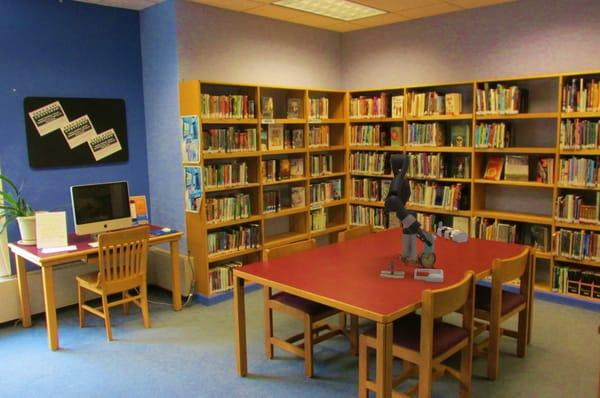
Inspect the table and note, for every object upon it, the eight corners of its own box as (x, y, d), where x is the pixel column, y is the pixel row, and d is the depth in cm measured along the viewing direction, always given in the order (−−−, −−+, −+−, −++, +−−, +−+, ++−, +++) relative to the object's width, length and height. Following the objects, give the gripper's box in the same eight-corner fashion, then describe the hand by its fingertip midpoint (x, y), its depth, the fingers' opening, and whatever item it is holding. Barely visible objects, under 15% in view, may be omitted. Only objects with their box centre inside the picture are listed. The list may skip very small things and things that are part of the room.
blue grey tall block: (425, 250, 292) (425, 233, 290) (436, 251, 289) (436, 234, 288) (423, 252, 287) (423, 235, 286) (435, 253, 285) (435, 236, 283)
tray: (415, 273, 301) (415, 268, 300) (442, 274, 296) (442, 269, 296) (414, 281, 285) (414, 276, 285) (443, 283, 281) (443, 277, 281)
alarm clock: (421, 270, 306) (421, 245, 304) (416, 268, 311) (416, 243, 309) (436, 268, 309) (436, 243, 307) (431, 266, 314) (431, 241, 312)
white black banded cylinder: (437, 236, 397) (437, 220, 395) (448, 235, 400) (448, 219, 399) (456, 243, 374) (456, 226, 372) (467, 241, 377) (468, 224, 375)
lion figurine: (397, 267, 314) (397, 253, 313) (400, 265, 319) (400, 251, 318) (420, 270, 307) (420, 256, 306) (423, 268, 311) (423, 254, 310)
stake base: (381, 272, 305) (381, 257, 303) (405, 273, 301) (405, 258, 300) (379, 279, 291) (379, 263, 290) (403, 280, 288) (403, 264, 286)
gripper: (413, 221, 283) (434, 243, 279) (418, 217, 296) (439, 238, 292) (404, 230, 286) (425, 252, 282) (409, 225, 298) (429, 246, 295)
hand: (432, 244), depth 287 cm, fingers closed on blue grey tall block, 5 cm apart
